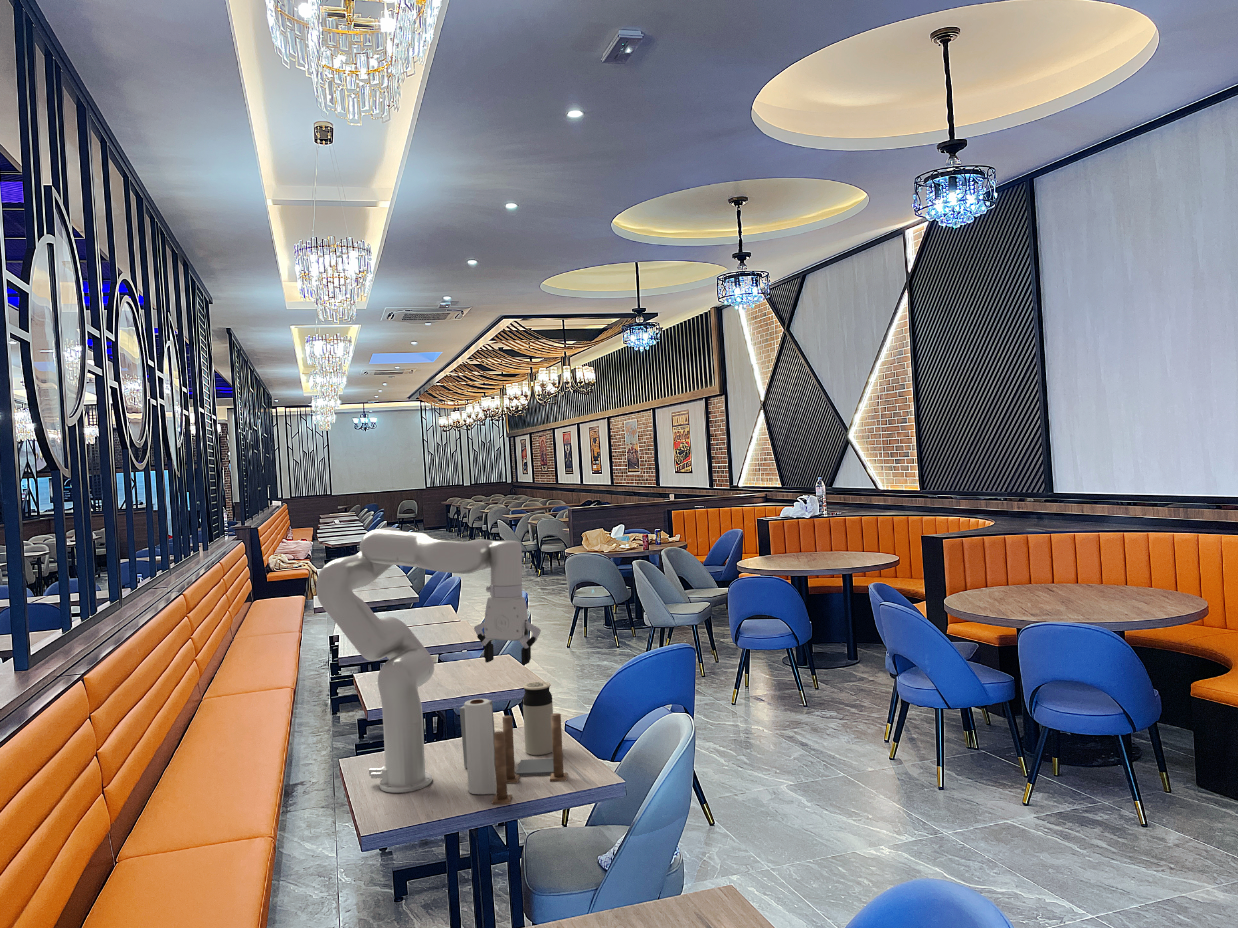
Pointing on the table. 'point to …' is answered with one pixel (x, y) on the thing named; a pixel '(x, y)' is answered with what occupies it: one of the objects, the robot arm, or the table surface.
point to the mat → (535, 767)
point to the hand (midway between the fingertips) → (507, 662)
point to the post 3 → (557, 749)
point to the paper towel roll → (480, 746)
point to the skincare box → (462, 717)
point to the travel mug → (537, 718)
